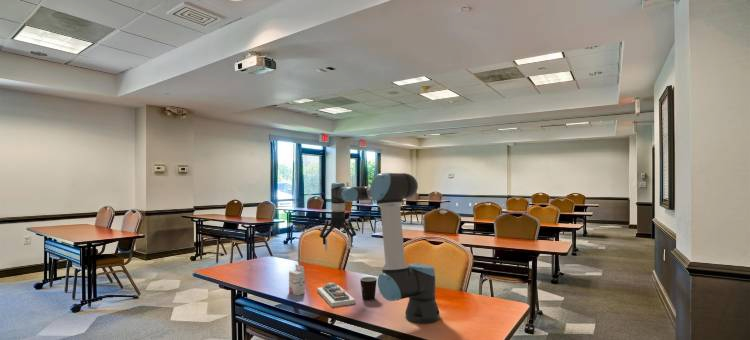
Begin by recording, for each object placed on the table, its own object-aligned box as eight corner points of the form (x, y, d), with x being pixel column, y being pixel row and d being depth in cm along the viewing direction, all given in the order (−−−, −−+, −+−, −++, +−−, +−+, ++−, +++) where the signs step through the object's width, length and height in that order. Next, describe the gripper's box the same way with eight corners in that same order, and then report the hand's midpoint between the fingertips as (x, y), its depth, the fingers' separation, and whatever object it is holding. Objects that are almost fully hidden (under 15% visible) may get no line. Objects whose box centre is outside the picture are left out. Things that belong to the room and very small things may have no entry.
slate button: (341, 291, 199) (341, 288, 199) (332, 292, 197) (332, 289, 197) (338, 288, 203) (338, 285, 203) (329, 289, 201) (329, 286, 201)
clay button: (346, 295, 191) (346, 292, 191) (336, 296, 189) (336, 293, 189) (343, 292, 196) (343, 289, 196) (333, 294, 194) (333, 290, 194)
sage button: (336, 287, 206) (336, 284, 206) (327, 288, 204) (327, 285, 204) (334, 284, 211) (334, 281, 211) (325, 286, 209) (325, 282, 209)
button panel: (355, 303, 189) (355, 296, 189) (331, 307, 185) (331, 300, 185) (338, 288, 215) (338, 282, 215) (317, 291, 210) (317, 285, 211)
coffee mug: (375, 301, 192) (374, 281, 192) (358, 300, 194) (358, 280, 194) (379, 294, 204) (379, 275, 204) (363, 293, 205) (363, 275, 206)
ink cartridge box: (288, 292, 209) (288, 265, 209) (296, 290, 213) (295, 264, 213) (297, 295, 203) (297, 268, 204) (305, 293, 207) (305, 266, 207)
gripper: (357, 209, 217) (357, 246, 217) (314, 211, 208) (314, 249, 208) (361, 210, 210) (361, 249, 210) (317, 212, 201) (317, 252, 201)
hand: (338, 249), depth 209 cm, fingers open, 13 cm apart
